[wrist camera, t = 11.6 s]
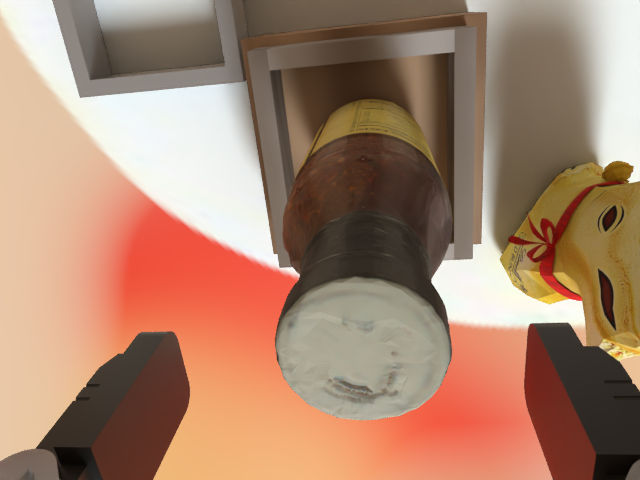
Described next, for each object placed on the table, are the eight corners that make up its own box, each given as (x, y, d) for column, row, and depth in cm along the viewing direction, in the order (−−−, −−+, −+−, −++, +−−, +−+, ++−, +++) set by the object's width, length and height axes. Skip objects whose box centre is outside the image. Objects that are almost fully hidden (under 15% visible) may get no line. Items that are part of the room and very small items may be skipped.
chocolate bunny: (638, 162, 34) (809, 262, 21) (543, 290, 39) (632, 442, 25) (548, 119, 34) (662, 194, 20) (463, 254, 38) (509, 389, 25)
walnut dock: (468, 12, 31) (499, 12, 23) (466, 209, 37) (490, 266, 29) (263, 34, 33) (225, 42, 25) (288, 219, 38) (264, 275, 30)
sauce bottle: (369, 218, 31) (346, 508, 14) (294, 148, 30) (158, 366, 12) (452, 143, 29) (558, 379, 11) (374, 63, 27) (350, 182, 10)
